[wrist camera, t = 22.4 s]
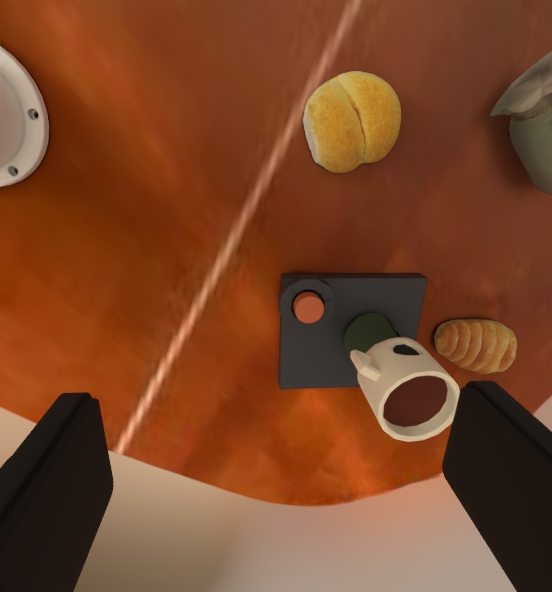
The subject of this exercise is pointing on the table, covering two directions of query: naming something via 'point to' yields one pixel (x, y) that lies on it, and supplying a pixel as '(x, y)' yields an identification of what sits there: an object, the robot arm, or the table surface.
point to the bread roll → (351, 121)
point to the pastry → (476, 344)
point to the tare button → (308, 307)
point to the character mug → (400, 380)
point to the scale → (340, 322)
